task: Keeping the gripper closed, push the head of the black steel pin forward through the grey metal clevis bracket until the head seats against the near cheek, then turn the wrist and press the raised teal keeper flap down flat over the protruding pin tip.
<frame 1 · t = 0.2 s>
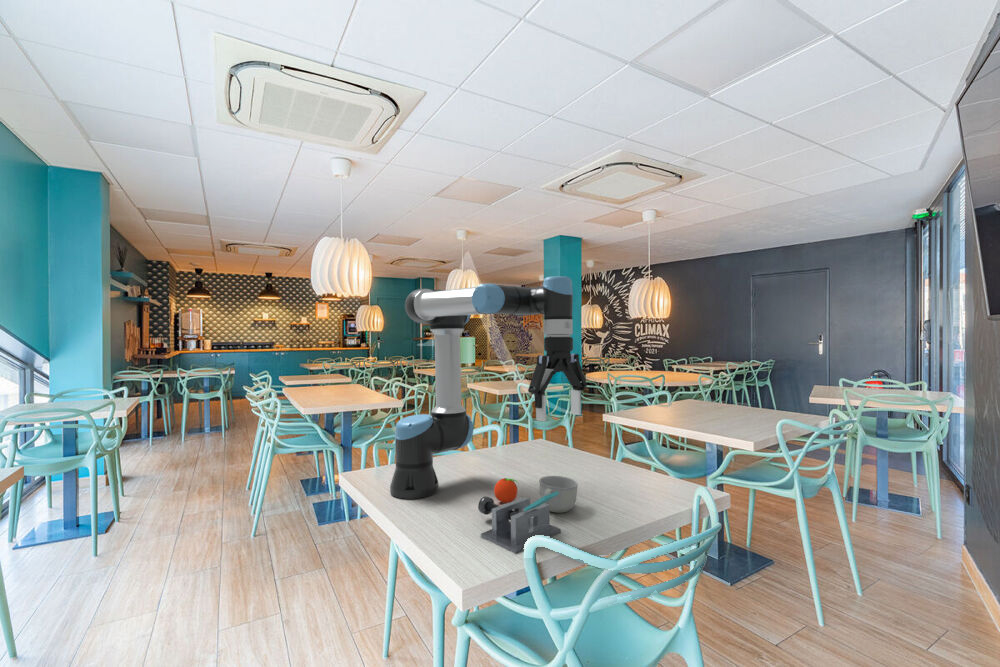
hand: (559, 417, 119), 28 cm above the table, fingers open, 13 cm apart
pin: (501, 511, 118), point 4 cm above the table, slide at 8.0 cm
clementine: (507, 503, 135), on the table
keeper: (540, 501, 108), point 10 cm above the table, hinge at 35.0°
bracket: (521, 534, 113), on the table
teacup: (555, 511, 128), on the table
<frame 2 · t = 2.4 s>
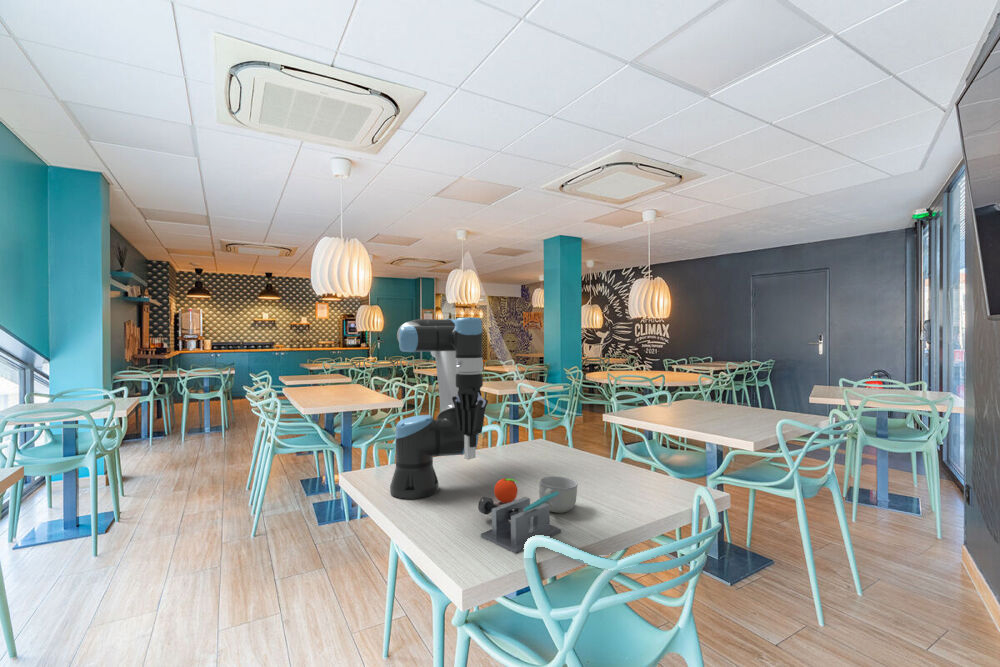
hand: (470, 458, 127), 15 cm above the table, fingers closed
nothing on the table moved.
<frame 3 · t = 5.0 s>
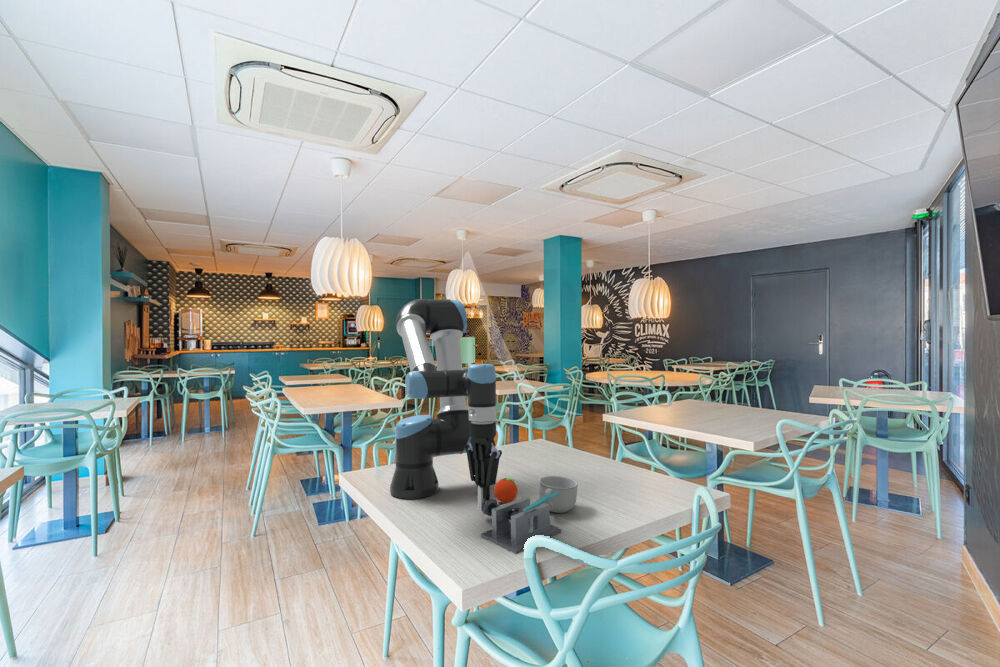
hand: (483, 509, 123), 2 cm above the table, fingers closed
pin: (505, 512, 117), point 4 cm above the table, slide at 6.5 cm, touching gripper
everything else where it was.
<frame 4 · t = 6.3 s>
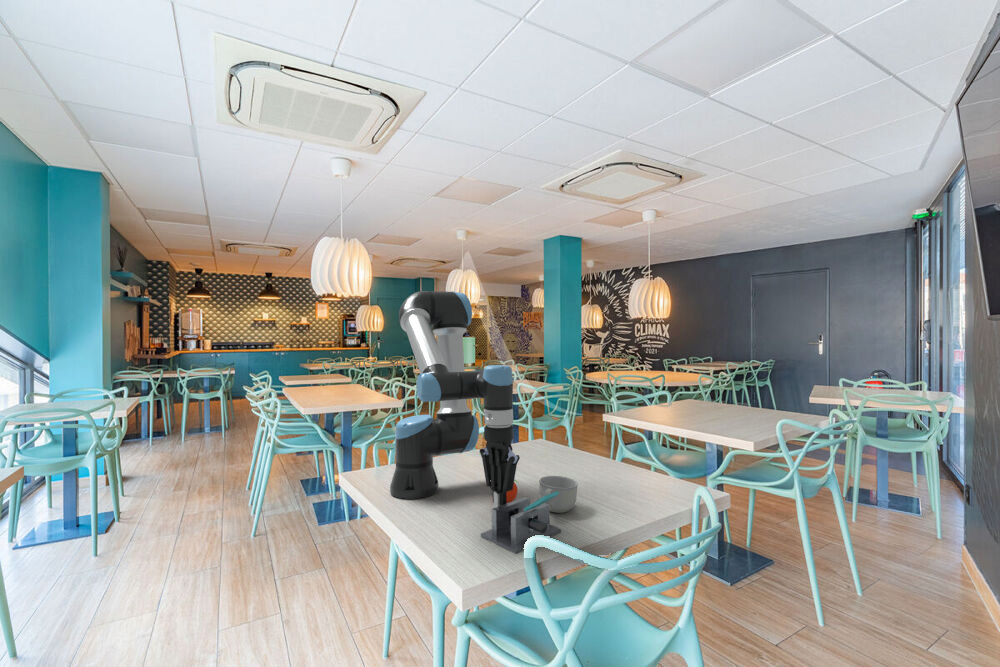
hand: (499, 516, 118), 2 cm above the table, fingers closed
pin: (523, 520, 112), point 4 cm above the table, slide at 0.2 cm, touching gripper
everything else where it was.
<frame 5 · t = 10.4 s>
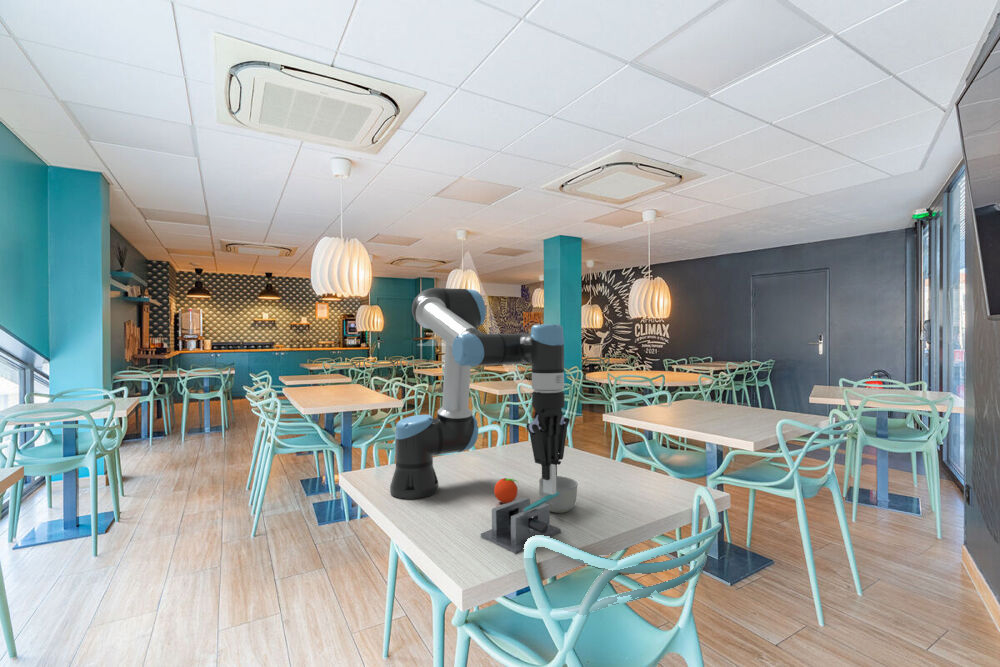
hand: (549, 492, 106), 13 cm above the table, fingers closed
pin: (524, 520, 112), point 4 cm above the table, slide at 0.0 cm
keeper: (540, 502, 108), point 10 cm above the table, hinge at 34.2°, touching gripper
everything else where it was.
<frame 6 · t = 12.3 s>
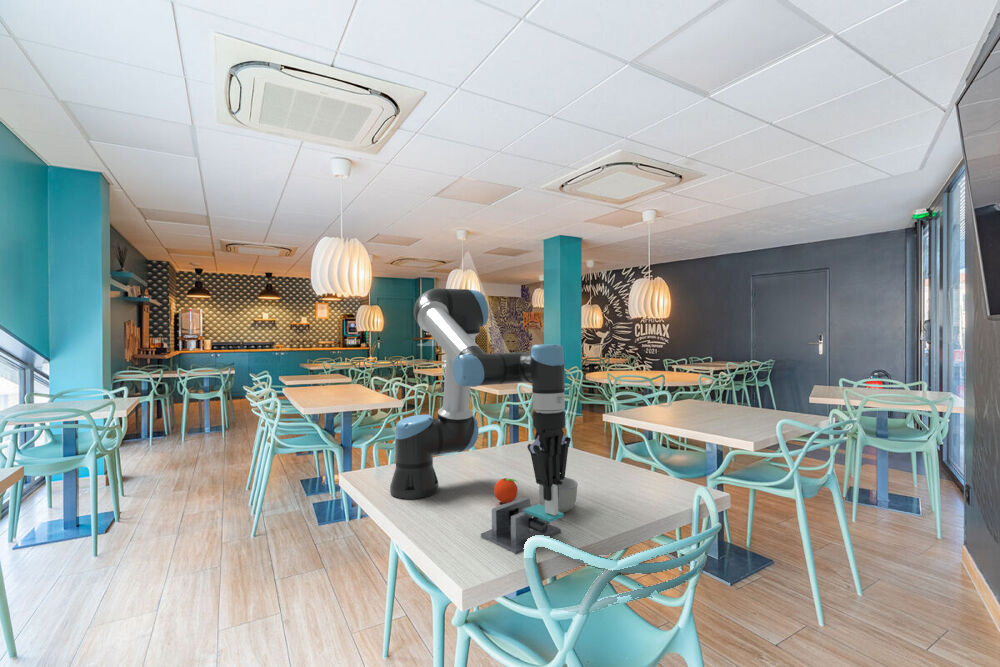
hand: (551, 513, 106), 8 cm above the table, fingers closed
keeper: (542, 512, 108), point 7 cm above the table, hinge at -0.4°, touching gripper
everything else where it was.
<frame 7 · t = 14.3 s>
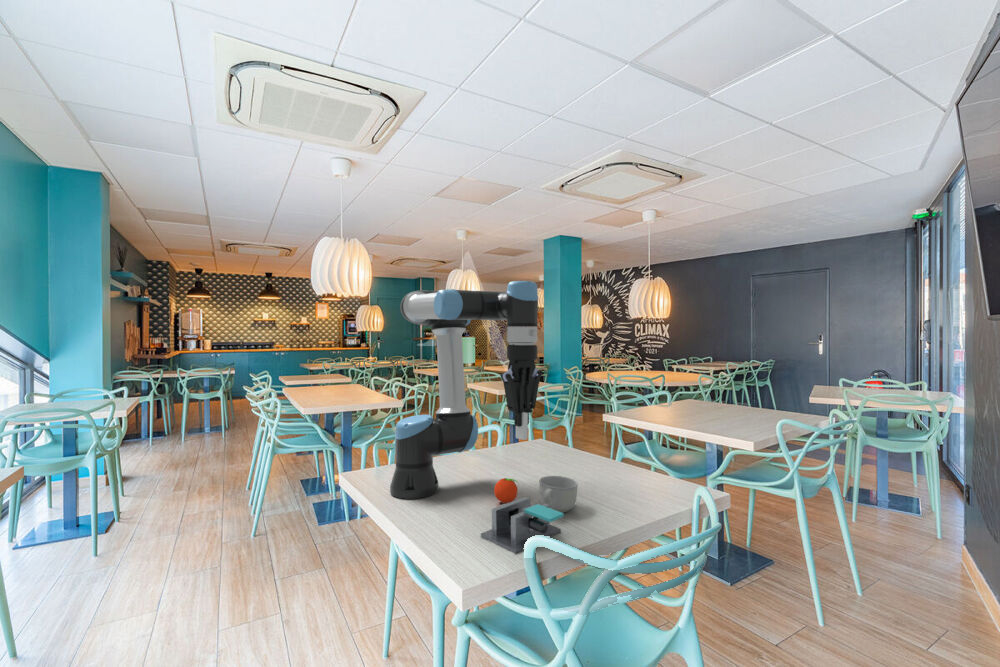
hand: (521, 438, 114), 23 cm above the table, fingers closed
keeper: (542, 512, 108), point 7 cm above the table, hinge at -0.4°
everything else where it was.
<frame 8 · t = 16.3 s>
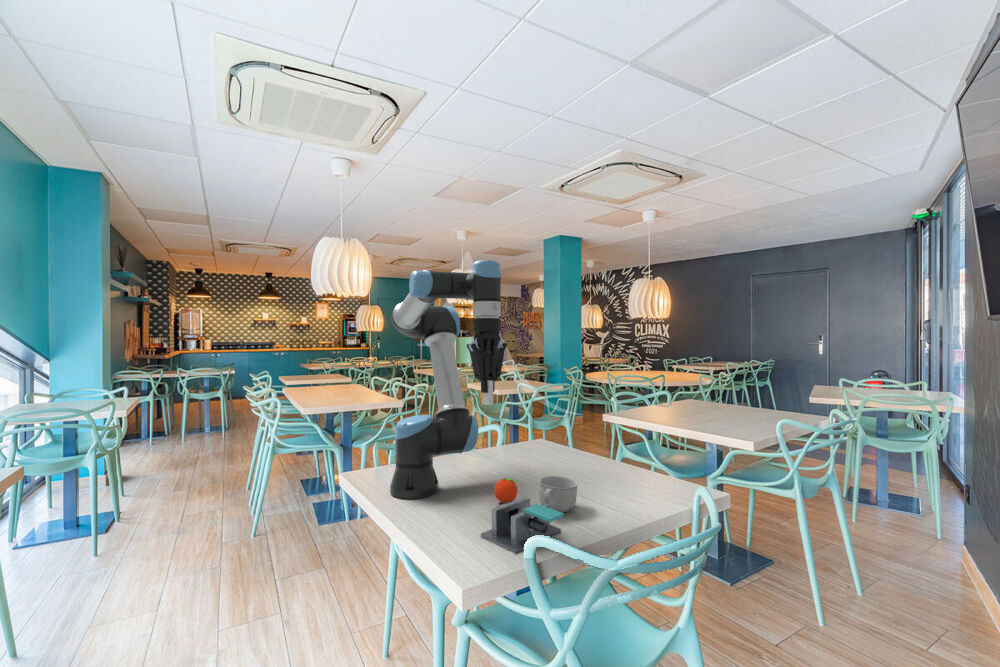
hand: (488, 404, 125), 30 cm above the table, fingers closed
nothing on the table moved.
at the end: pin slide at 0.0 cm; keeper at +0° (first picture: +35°) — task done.
